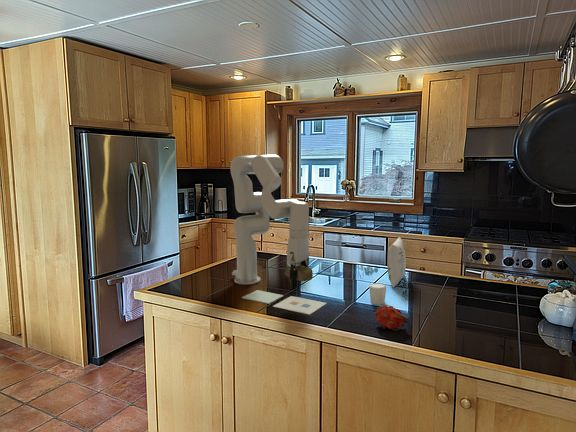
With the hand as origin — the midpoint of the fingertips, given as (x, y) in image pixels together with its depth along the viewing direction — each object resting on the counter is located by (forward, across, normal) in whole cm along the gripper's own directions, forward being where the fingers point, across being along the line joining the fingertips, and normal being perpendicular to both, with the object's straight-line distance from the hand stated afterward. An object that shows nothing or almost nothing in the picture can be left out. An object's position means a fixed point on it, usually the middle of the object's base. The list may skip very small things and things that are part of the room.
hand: (298, 276), depth 166 cm
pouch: (+12, -49, +24) cm, 56 cm away
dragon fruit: (+11, +3, +40) cm, 41 cm away
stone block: (+1, 0, 0) cm, 1 cm away
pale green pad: (+12, 0, -18) cm, 21 cm away
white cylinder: (+11, -19, +26) cm, 34 cm away
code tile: (+12, 0, +1) cm, 12 cm away
